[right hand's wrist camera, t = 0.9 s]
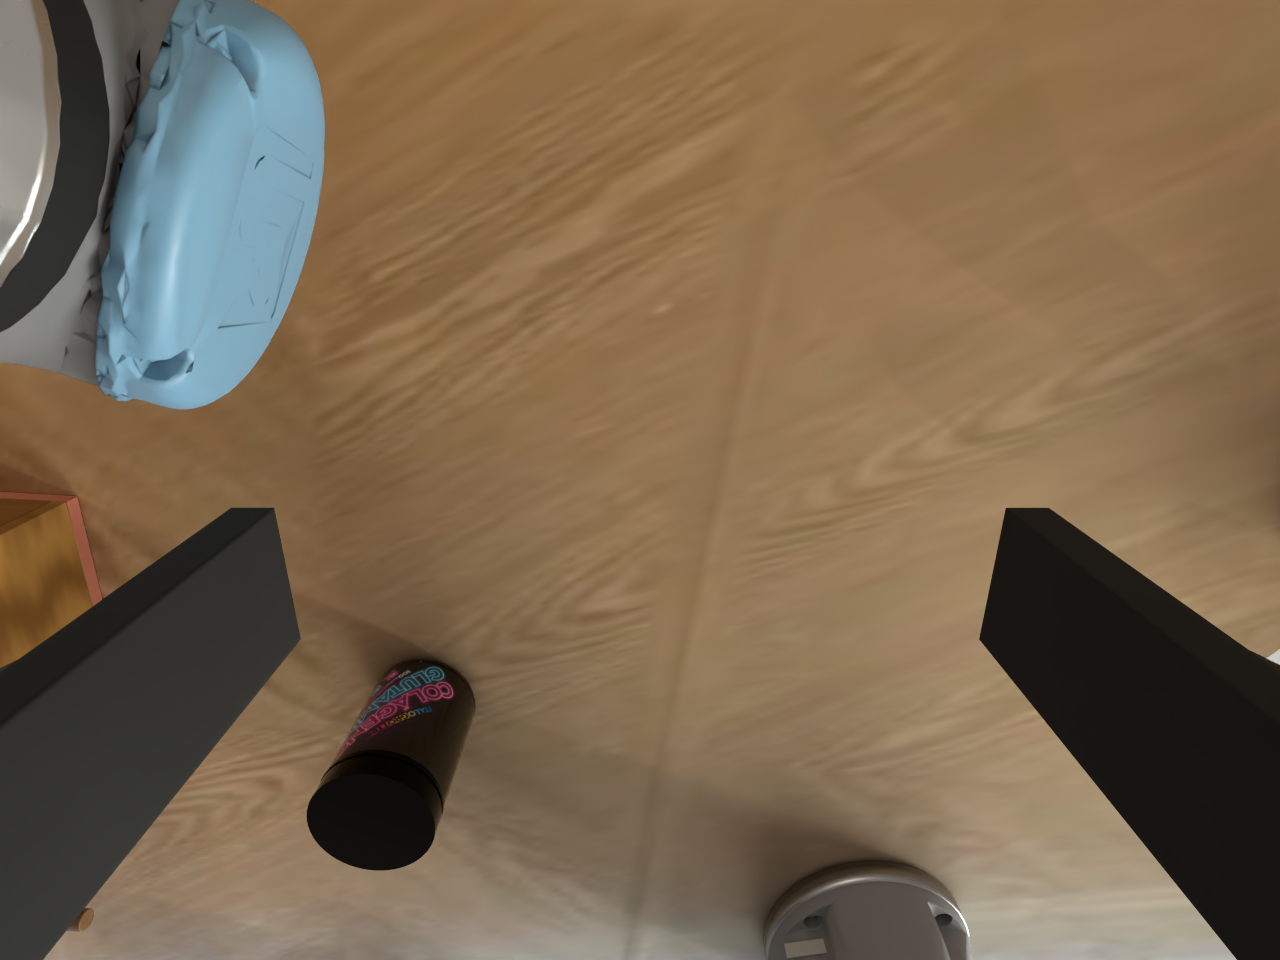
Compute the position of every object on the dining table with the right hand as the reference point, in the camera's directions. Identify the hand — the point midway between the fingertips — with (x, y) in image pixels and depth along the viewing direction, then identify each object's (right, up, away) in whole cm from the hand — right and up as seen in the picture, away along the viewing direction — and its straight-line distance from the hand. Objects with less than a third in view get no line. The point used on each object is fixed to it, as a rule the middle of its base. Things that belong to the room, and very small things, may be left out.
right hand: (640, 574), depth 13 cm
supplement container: (-14, -13, +34) cm, 39 cm away
